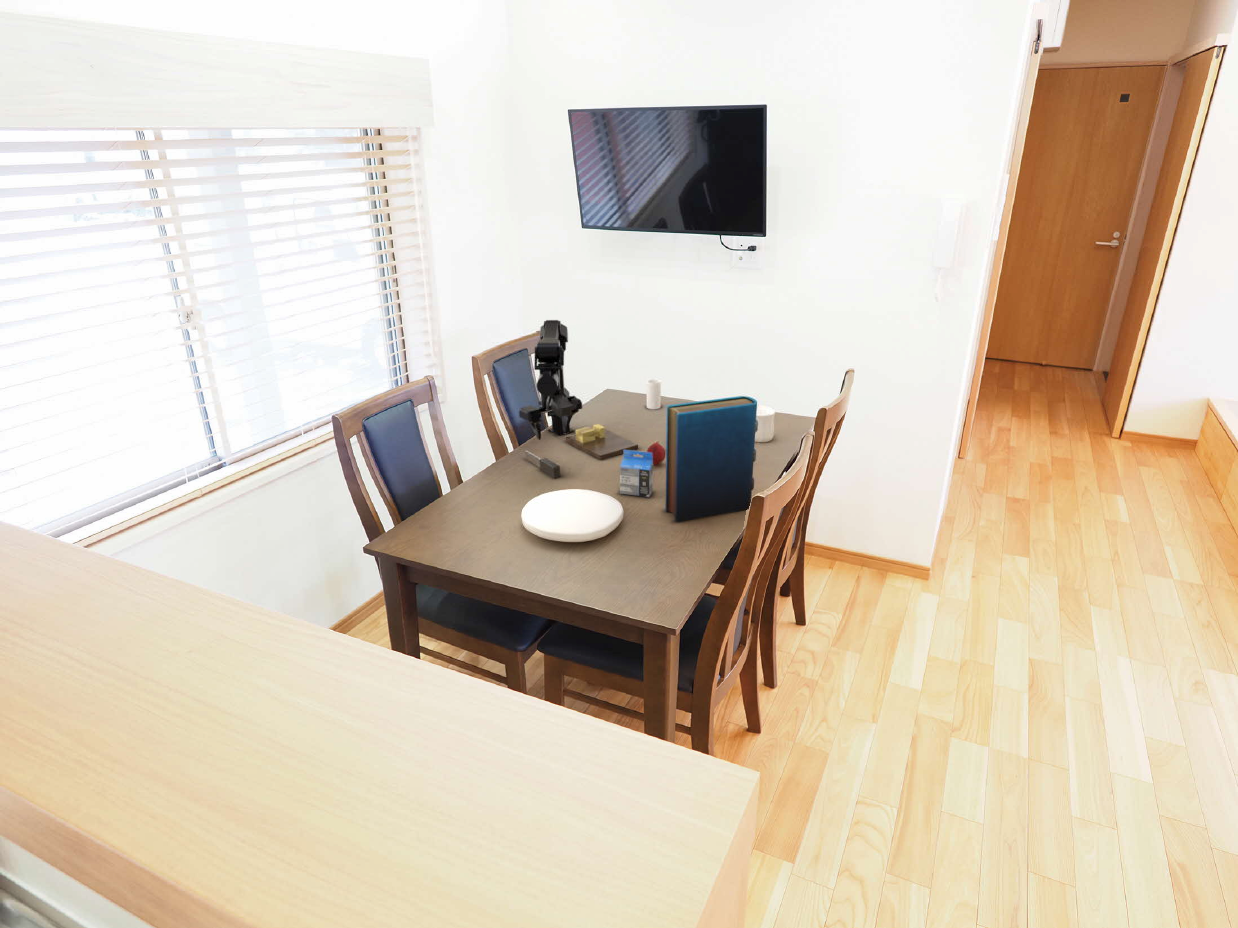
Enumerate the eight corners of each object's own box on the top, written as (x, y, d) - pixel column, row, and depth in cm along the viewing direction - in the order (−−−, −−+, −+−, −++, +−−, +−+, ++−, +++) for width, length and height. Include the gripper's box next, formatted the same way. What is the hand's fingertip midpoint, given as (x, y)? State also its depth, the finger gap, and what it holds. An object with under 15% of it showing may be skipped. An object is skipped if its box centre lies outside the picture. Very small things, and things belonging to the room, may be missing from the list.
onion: (659, 470, 238) (659, 446, 235) (643, 466, 241) (643, 442, 238) (668, 464, 243) (669, 440, 240) (652, 460, 246) (652, 436, 243)
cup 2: (751, 430, 269) (753, 403, 265) (778, 436, 264) (780, 408, 260) (738, 438, 262) (740, 411, 258) (766, 445, 257) (768, 416, 253)
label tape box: (619, 494, 223) (618, 454, 219) (623, 488, 227) (623, 449, 222) (649, 497, 221) (649, 457, 216) (653, 491, 225) (653, 452, 220)
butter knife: (560, 476, 235) (559, 466, 234) (554, 478, 234) (553, 467, 232) (529, 458, 248) (528, 448, 247) (523, 460, 247) (522, 449, 246)
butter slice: (593, 435, 262) (593, 425, 261) (598, 433, 263) (597, 424, 262) (600, 438, 259) (600, 428, 258) (605, 437, 260) (604, 427, 259)
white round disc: (528, 485, 218) (624, 485, 218) (529, 507, 220) (624, 507, 220) (513, 522, 191) (622, 522, 191) (514, 546, 193) (622, 547, 193)
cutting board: (565, 441, 261) (564, 427, 259) (602, 431, 269) (601, 417, 267) (600, 460, 246) (600, 445, 245) (638, 448, 255) (638, 434, 253)
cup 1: (647, 404, 295) (647, 379, 291) (660, 404, 295) (661, 379, 291) (646, 409, 290) (646, 383, 286) (660, 409, 290) (660, 383, 286)
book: (741, 494, 222) (747, 392, 210) (757, 507, 215) (763, 402, 203) (663, 508, 215) (664, 404, 203) (676, 522, 207) (677, 414, 195)
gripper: (537, 398, 215) (540, 451, 221) (592, 385, 226) (593, 436, 232) (516, 389, 223) (519, 440, 230) (570, 377, 234) (572, 426, 240)
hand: (552, 435), depth 233 cm, fingers open, 9 cm apart
